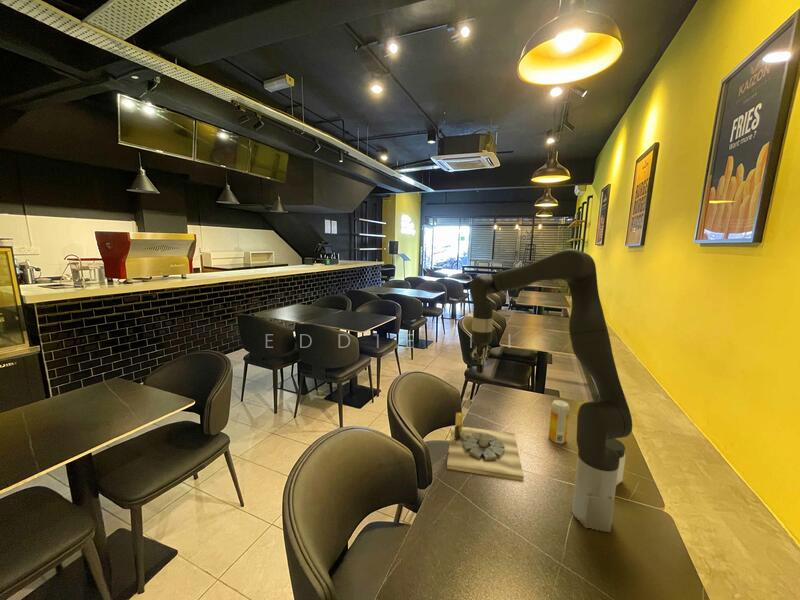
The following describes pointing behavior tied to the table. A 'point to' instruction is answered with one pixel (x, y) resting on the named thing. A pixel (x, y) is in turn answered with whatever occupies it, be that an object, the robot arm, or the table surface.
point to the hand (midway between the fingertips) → (479, 372)
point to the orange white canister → (559, 421)
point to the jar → (620, 450)
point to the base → (464, 462)
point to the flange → (472, 441)
